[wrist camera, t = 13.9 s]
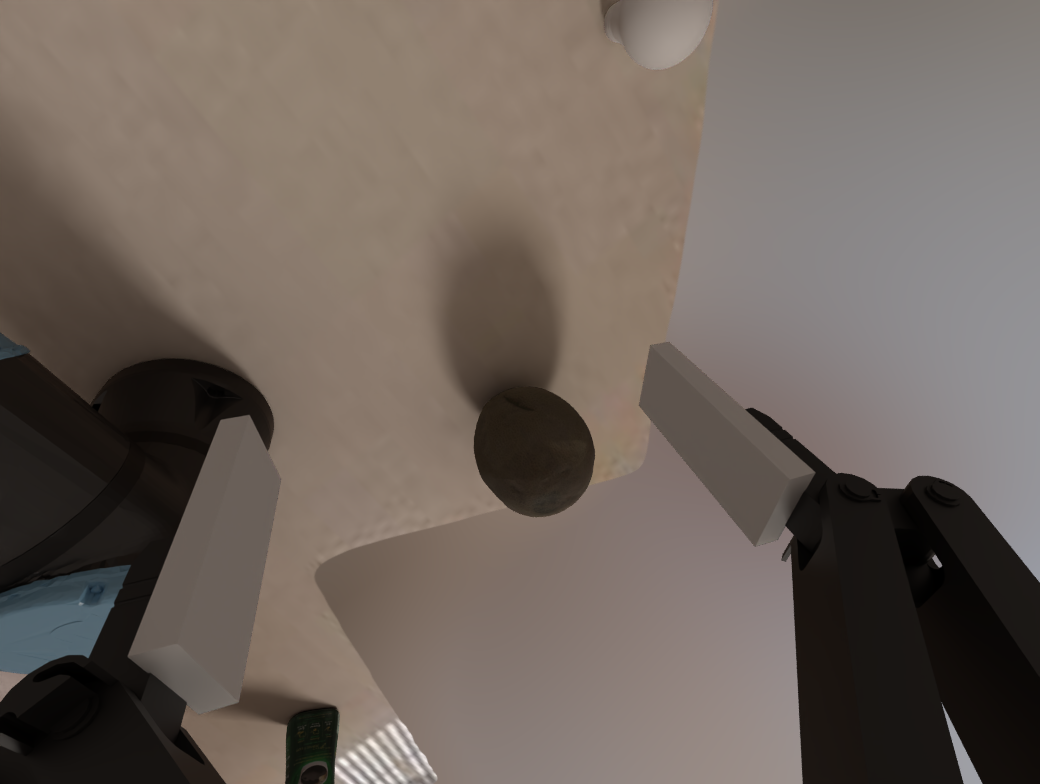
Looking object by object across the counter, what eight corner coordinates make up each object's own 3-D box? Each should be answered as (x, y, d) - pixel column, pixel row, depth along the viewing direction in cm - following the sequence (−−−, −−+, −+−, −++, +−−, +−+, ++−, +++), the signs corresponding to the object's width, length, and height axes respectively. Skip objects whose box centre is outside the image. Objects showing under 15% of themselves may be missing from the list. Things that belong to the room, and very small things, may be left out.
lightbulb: (661, 13, 37) (750, -3, 28) (614, 86, 39) (685, 91, 31) (612, -50, 34) (696, -89, 25) (564, 33, 36) (627, 23, 27)
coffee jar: (284, 729, 90) (270, 855, 75) (291, 710, 86) (277, 839, 72) (335, 722, 94) (330, 840, 80) (343, 704, 90) (340, 824, 76)
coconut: (447, 444, 58) (469, 538, 46) (486, 353, 51) (523, 436, 40) (539, 456, 64) (579, 542, 52) (584, 377, 58) (640, 455, 46)
